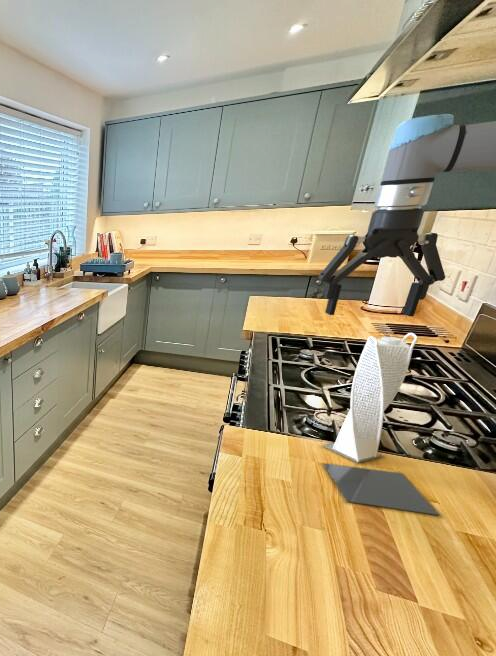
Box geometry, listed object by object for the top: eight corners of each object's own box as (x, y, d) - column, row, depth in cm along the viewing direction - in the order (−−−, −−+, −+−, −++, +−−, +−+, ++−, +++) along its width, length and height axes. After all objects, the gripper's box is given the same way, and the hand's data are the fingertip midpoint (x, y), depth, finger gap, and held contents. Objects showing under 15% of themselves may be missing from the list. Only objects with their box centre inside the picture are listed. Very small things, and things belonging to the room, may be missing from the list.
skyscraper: (389, 459, 89) (436, 332, 78) (361, 467, 87) (405, 338, 76) (347, 441, 96) (385, 323, 86) (320, 447, 94) (355, 327, 84)
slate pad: (401, 474, 84) (401, 473, 84) (438, 515, 73) (439, 514, 73) (323, 464, 88) (323, 463, 88) (347, 502, 77) (347, 501, 77)
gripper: (329, 212, 83) (304, 317, 91) (498, 203, 74) (454, 319, 82) (315, 212, 89) (293, 309, 97) (469, 204, 81) (431, 311, 89)
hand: (367, 314), depth 90 cm, fingers open, 13 cm apart
